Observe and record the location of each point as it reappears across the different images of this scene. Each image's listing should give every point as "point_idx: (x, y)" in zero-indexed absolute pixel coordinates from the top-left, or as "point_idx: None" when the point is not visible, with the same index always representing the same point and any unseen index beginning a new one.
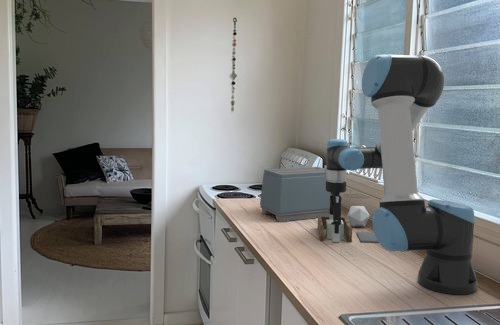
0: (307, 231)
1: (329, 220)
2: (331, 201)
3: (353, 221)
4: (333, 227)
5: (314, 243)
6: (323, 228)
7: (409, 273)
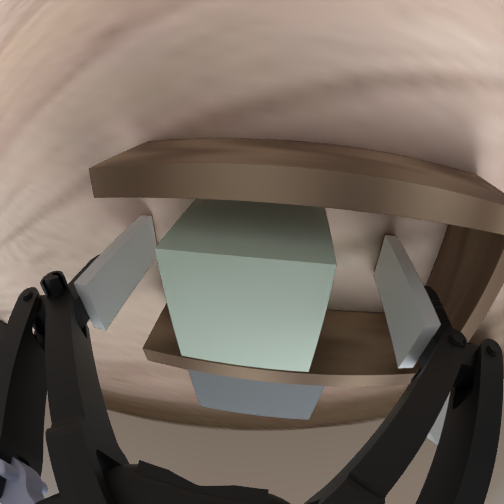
0: (406, 74)
1: (291, 288)
2: (64, 497)
3: None
4: (89, 272)
5: (99, 110)
6: (97, 192)
7: None
